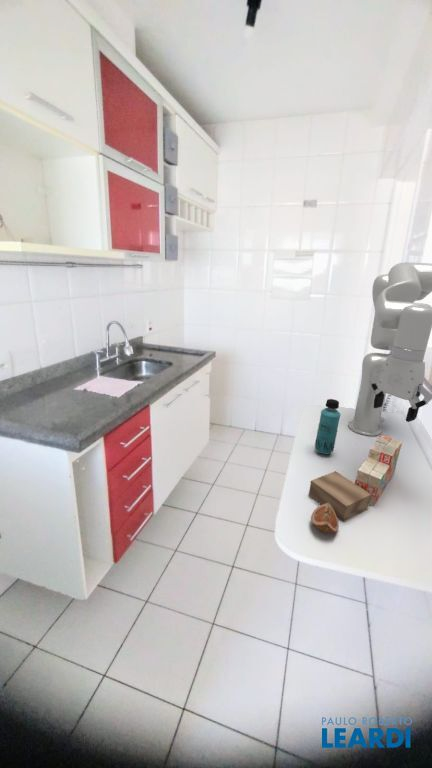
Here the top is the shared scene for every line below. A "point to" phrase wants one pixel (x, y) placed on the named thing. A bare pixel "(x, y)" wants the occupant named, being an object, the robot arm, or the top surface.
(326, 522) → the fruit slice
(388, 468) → the stack of blocks
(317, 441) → the beverage bottle
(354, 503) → the walnut base brick
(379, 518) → the top surface
